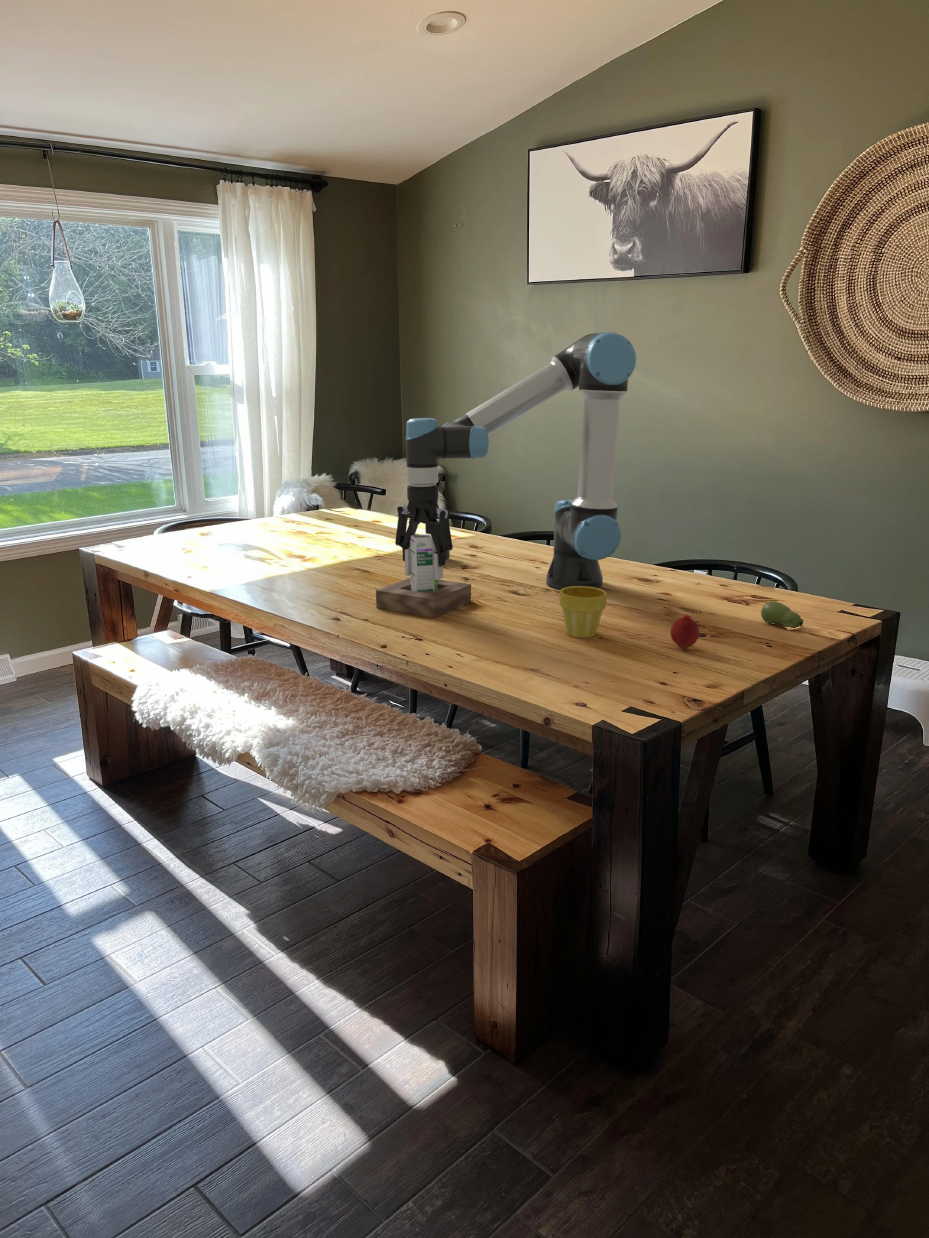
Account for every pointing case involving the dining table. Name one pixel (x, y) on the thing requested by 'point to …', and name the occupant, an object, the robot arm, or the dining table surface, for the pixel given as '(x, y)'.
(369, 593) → the dining table surface
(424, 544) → the syrup box
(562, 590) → the plant pot
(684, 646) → the onion
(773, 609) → the pear
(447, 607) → the socket block
